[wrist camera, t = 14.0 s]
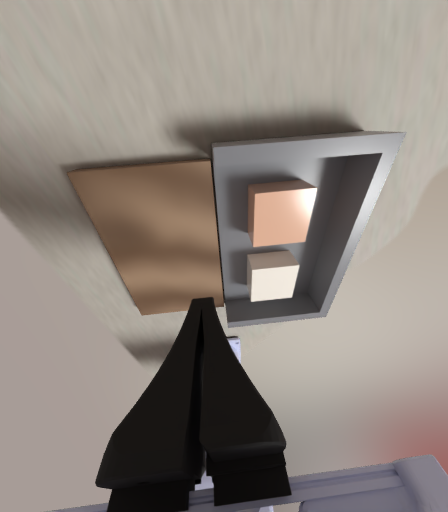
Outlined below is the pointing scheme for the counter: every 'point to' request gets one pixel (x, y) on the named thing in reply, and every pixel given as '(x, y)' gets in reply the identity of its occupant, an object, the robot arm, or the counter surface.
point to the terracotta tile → (279, 212)
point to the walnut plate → (157, 229)
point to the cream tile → (271, 275)
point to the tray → (322, 218)
